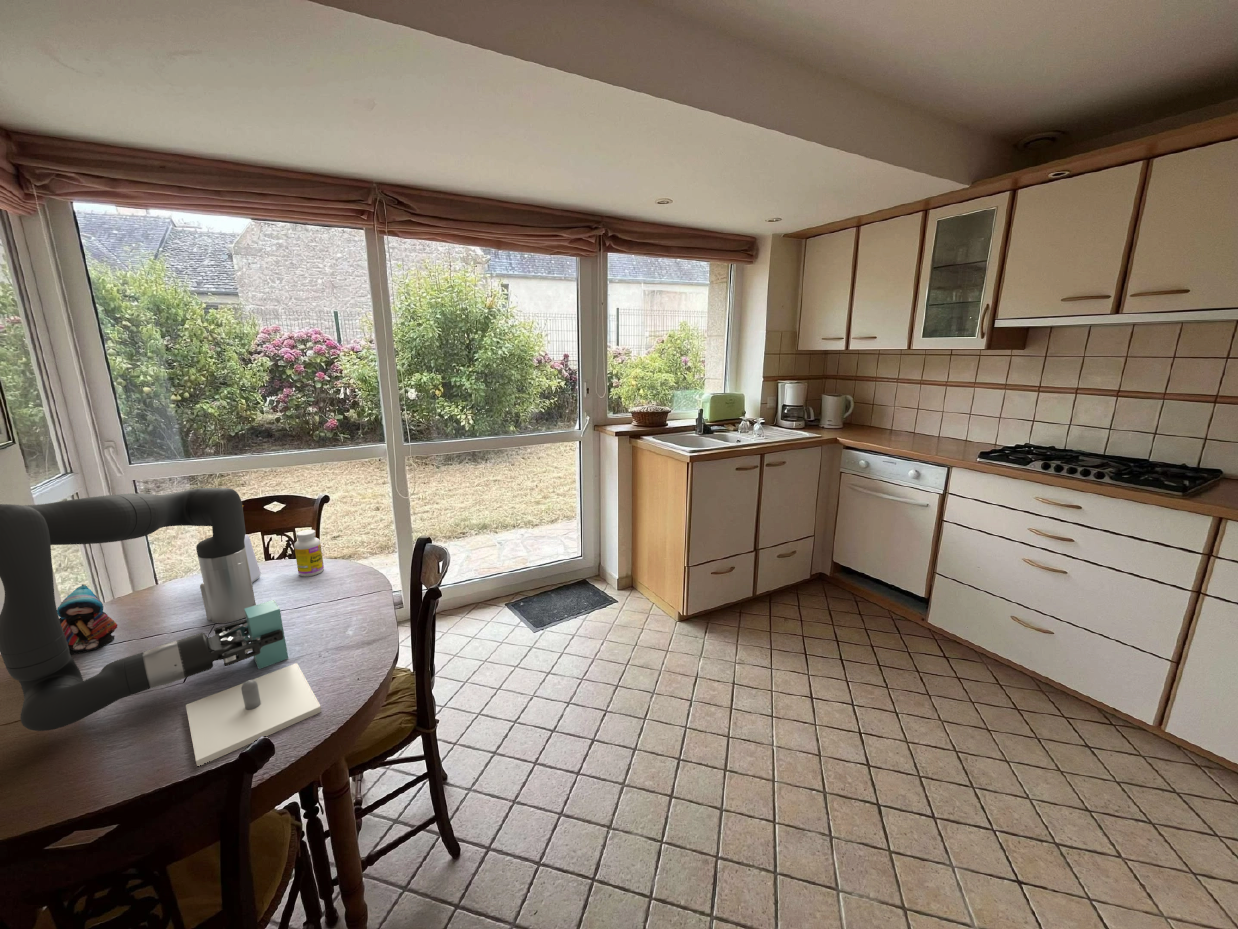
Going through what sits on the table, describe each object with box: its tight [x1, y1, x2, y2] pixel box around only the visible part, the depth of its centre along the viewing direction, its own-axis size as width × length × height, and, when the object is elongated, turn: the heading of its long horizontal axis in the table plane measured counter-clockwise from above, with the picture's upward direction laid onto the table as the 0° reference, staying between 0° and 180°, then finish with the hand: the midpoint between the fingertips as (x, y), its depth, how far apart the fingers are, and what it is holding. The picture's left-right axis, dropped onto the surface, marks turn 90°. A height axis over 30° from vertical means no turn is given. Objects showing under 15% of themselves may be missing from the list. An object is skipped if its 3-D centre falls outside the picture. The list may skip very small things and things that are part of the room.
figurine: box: [56, 583, 118, 656], centre depth 110 cm, size 10×7×15 cm
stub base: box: [185, 662, 323, 767], centre depth 92 cm, size 18×18×6 cm
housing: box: [244, 599, 289, 670], centre depth 107 cm, size 5×5×12 cm
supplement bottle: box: [293, 529, 325, 577], centre depth 148 cm, size 7×7×13 cm
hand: (278, 627), depth 109 cm, fingers open, 6 cm apart
